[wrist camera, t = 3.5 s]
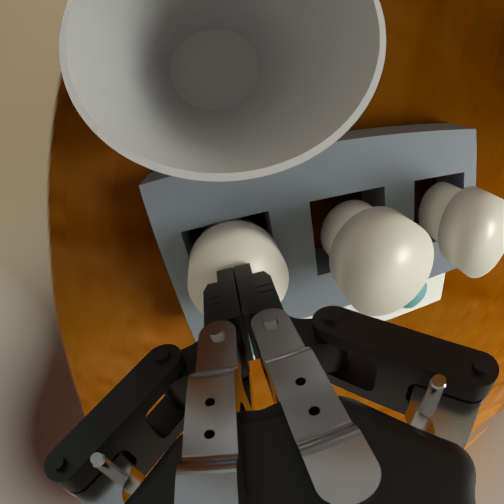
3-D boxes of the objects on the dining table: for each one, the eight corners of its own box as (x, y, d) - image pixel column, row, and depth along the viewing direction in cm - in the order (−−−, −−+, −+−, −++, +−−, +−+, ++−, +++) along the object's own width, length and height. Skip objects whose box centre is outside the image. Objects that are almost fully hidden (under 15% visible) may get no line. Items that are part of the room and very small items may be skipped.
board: (447, 122, 17) (475, 129, 14) (444, 246, 22) (466, 264, 19) (149, 172, 16) (138, 185, 13) (196, 314, 21) (196, 343, 18)
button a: (464, 170, 16) (516, 192, 11) (460, 234, 18) (504, 265, 14) (412, 178, 15) (466, 205, 11) (410, 249, 18) (454, 288, 13)
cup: (307, 32, 14) (412, -25, 5) (260, 159, 17) (325, 221, 8) (169, -9, 12) (138, -111, 3) (121, 121, 15) (25, 143, 6)
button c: (261, 195, 17) (281, 226, 13) (275, 266, 19) (294, 311, 15) (181, 215, 17) (173, 252, 13) (202, 284, 19) (203, 333, 15)
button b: (384, 183, 15) (437, 212, 11) (385, 257, 17) (428, 299, 13) (306, 199, 15) (343, 236, 11) (315, 276, 17) (346, 328, 13)
